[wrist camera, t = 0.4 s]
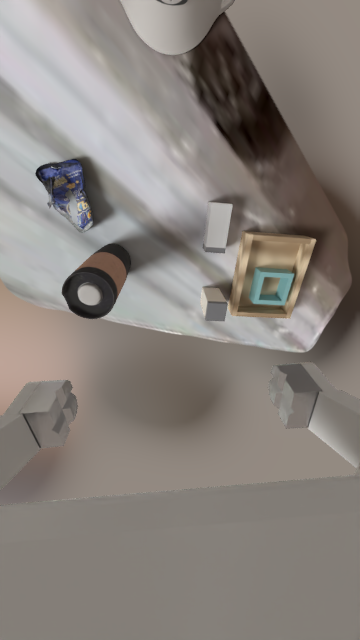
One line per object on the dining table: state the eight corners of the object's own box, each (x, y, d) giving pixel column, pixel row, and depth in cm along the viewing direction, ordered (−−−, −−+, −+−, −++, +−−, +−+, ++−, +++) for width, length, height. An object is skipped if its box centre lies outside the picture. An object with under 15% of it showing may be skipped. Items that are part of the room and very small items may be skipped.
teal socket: (255, 267, 54) (261, 272, 51) (287, 269, 54) (294, 274, 51) (248, 297, 57) (253, 303, 54) (278, 299, 58) (284, 305, 55)
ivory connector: (202, 287, 56) (208, 303, 48) (218, 288, 57) (227, 304, 49) (200, 302, 58) (205, 320, 50) (216, 303, 58) (224, 321, 51)
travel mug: (138, 255, 52) (124, 288, 34) (122, 283, 55) (102, 328, 37) (105, 235, 50) (72, 260, 32) (90, 266, 52) (53, 304, 35)
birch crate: (242, 231, 51) (248, 234, 47) (305, 235, 52) (316, 239, 48) (227, 307, 59) (232, 315, 55) (282, 310, 60) (289, 318, 56)
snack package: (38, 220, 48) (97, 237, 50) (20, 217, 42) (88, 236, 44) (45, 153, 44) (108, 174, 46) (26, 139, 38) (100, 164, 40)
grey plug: (208, 201, 48) (211, 202, 44) (227, 203, 48) (232, 204, 44) (202, 247, 52) (205, 251, 48) (220, 248, 52) (224, 253, 49)
